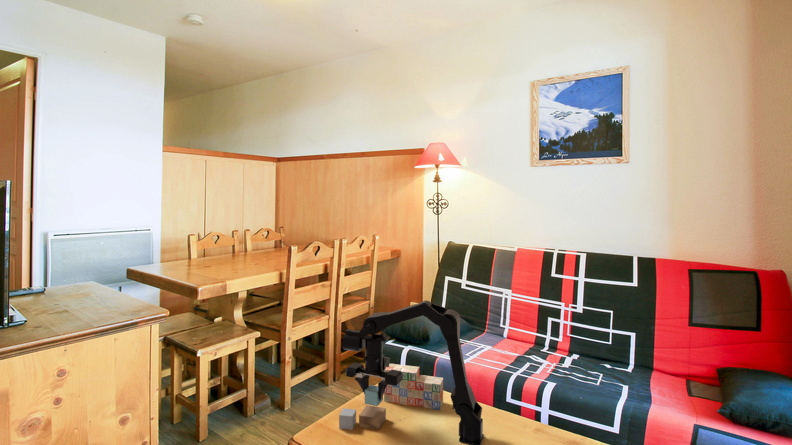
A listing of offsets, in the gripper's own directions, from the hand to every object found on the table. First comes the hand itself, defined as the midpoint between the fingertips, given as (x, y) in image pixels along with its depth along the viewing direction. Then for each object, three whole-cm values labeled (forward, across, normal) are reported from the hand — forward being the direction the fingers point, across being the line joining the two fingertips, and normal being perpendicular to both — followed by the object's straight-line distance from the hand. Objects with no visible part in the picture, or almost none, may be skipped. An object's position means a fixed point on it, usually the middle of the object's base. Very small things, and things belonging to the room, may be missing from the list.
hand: (373, 398), depth 132 cm
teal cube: (+1, 0, 0) cm, 1 cm away
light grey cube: (+8, +7, +5) cm, 12 cm away
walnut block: (+8, 0, 0) cm, 8 cm away
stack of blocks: (+8, -7, -19) cm, 22 cm away
